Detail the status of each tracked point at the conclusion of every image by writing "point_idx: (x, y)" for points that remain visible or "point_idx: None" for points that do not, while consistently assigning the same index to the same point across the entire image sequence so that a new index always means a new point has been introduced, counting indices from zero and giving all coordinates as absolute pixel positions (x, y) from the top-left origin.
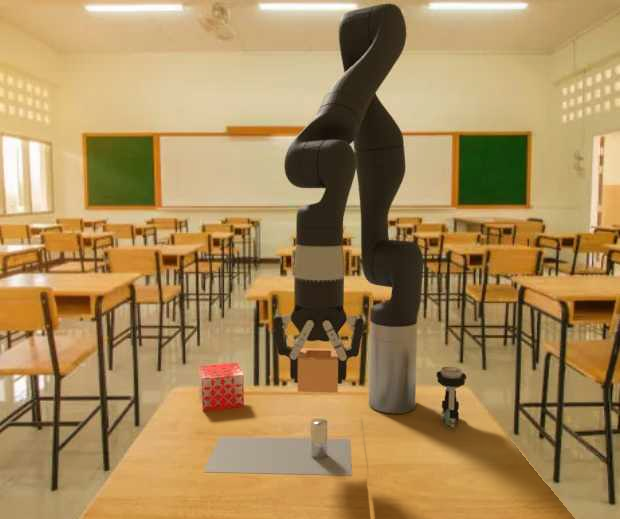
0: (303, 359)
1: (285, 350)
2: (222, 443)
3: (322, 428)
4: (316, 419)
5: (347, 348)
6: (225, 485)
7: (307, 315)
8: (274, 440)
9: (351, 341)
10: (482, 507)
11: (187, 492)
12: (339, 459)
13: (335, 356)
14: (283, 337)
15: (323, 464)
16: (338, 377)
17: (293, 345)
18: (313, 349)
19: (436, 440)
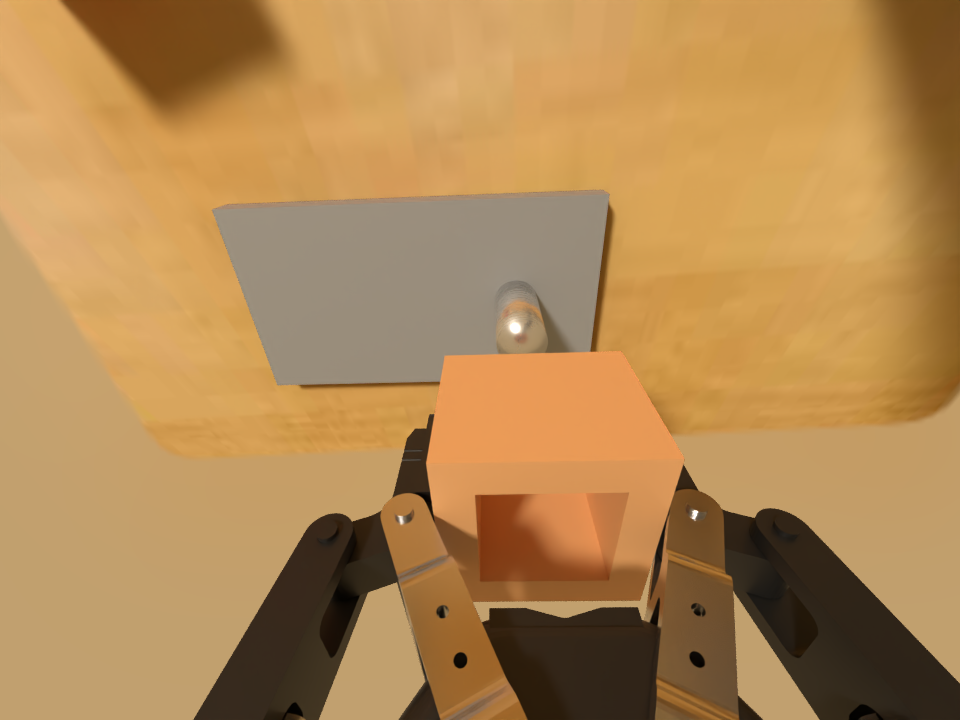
0: (473, 601)
1: (365, 594)
2: (245, 254)
3: None
4: (513, 327)
5: (733, 562)
6: None
7: None
8: (382, 224)
9: (796, 578)
10: (804, 415)
11: (278, 405)
12: (566, 316)
13: (637, 565)
14: (330, 685)
15: None
16: None
17: (390, 551)
18: (516, 480)
19: (907, 105)
